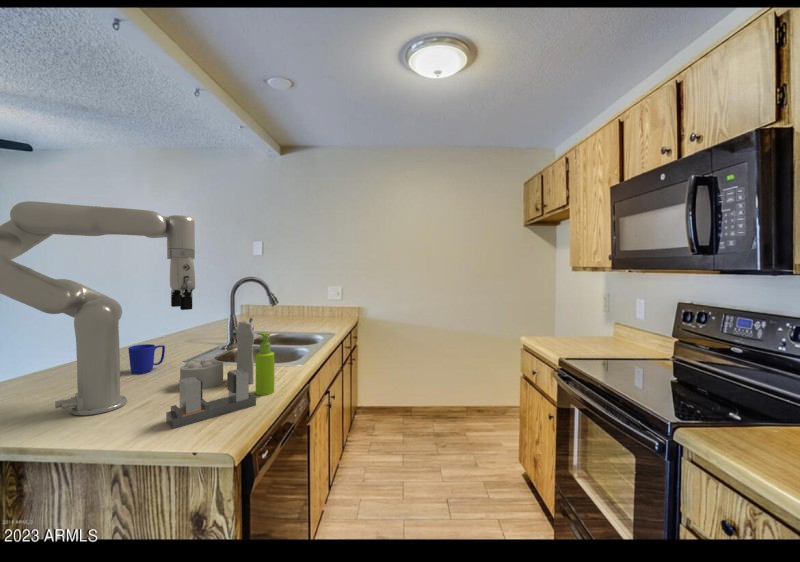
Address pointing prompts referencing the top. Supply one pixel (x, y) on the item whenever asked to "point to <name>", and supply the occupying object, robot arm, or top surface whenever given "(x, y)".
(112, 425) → the top surface
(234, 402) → the rail
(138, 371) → the mug
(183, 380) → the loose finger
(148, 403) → the top surface
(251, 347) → the grey tall slab
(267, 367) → the soap dispenser
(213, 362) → the lumpy-topped squat cylinder
